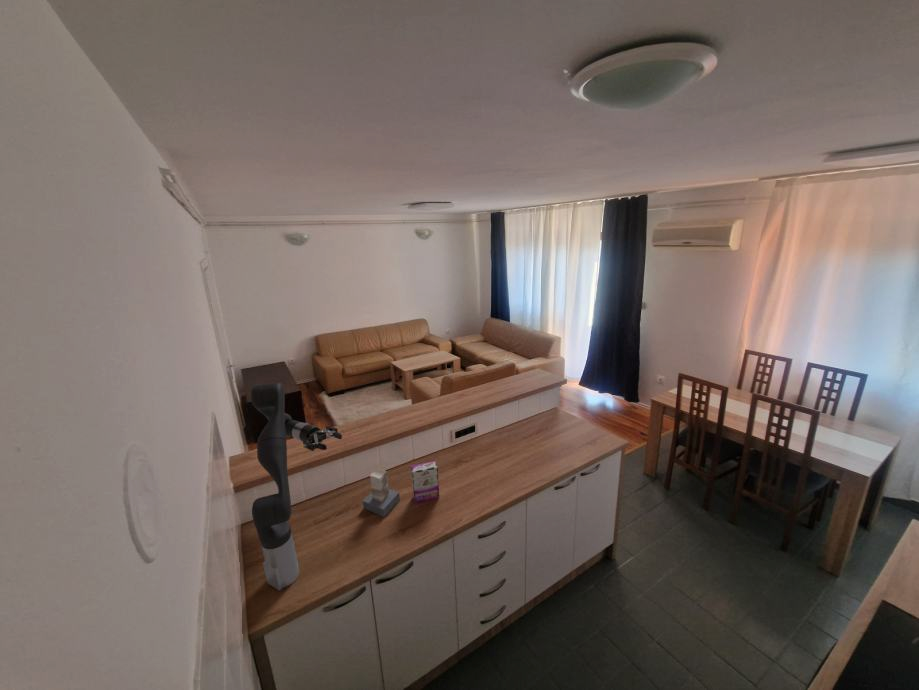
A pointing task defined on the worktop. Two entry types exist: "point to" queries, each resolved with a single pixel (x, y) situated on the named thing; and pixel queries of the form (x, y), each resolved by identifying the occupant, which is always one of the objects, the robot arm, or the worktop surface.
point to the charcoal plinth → (381, 503)
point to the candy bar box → (425, 481)
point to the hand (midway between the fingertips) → (333, 442)
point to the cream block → (379, 485)
